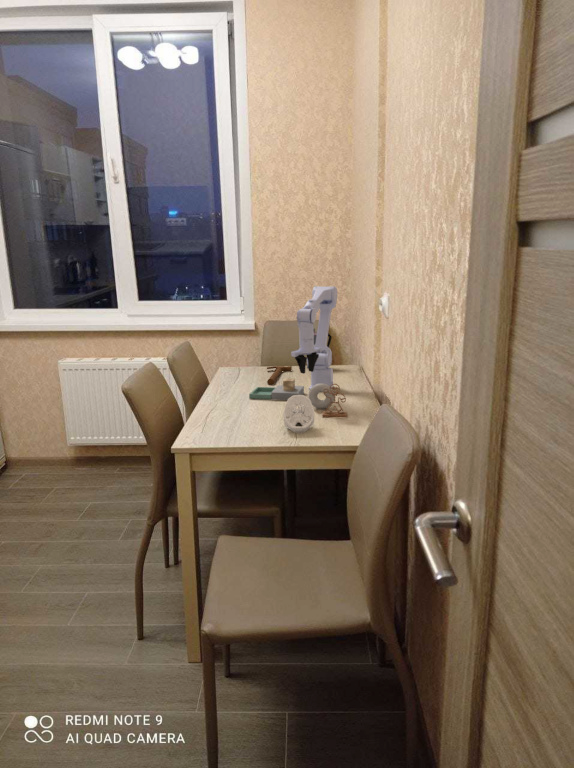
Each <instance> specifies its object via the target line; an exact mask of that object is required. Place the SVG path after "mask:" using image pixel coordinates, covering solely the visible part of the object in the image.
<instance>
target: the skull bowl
mask: <svg viewBox="0 0 574 768" xmlns="http://www.w3.org/2000/svg"><path fill="white" fill-rule="evenodd" d="M314 408H315V407H314V406H313V405H312V403H311V401H310V399H309V396H306V395H304V394H303V395H293V396H291V397H290V398H289V399H288V400H286V403H285V406H284V408H283V413H282V417H283V423H284V425H285V426H286V428H288V430H290V431H292V432H294V433H297V434H301V433H305V432H307V431H309V429H310V428H312V426H313V425H314V423H315V414H316V413H315V409H314ZM298 423H300V425H301V426H296V425H297V424H298ZM285 426H284V427H285Z"/></svg>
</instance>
